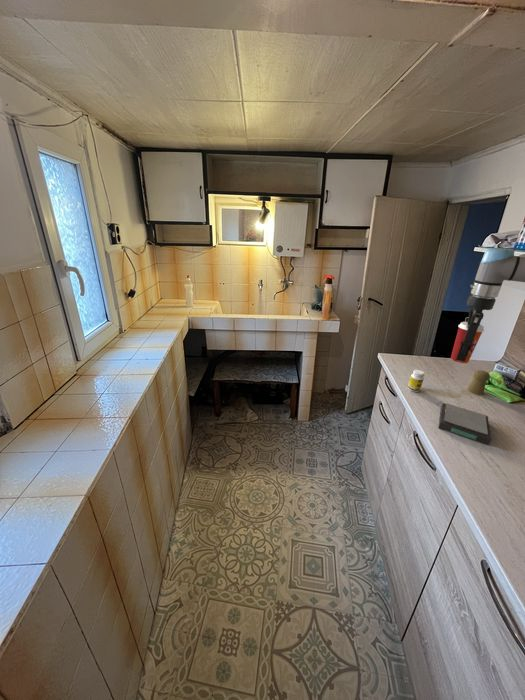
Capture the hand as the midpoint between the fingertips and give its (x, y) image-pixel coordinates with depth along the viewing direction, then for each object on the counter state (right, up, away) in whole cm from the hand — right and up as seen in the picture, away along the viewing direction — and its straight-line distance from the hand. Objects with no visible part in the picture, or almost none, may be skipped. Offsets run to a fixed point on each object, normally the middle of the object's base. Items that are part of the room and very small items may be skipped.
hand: (460, 356), depth 105 cm
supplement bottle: (-10, -14, +14) cm, 22 cm away
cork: (+13, -16, +11) cm, 24 cm away
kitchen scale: (-4, -24, -7) cm, 25 cm away
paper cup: (0, -1, +1) cm, 1 cm away
